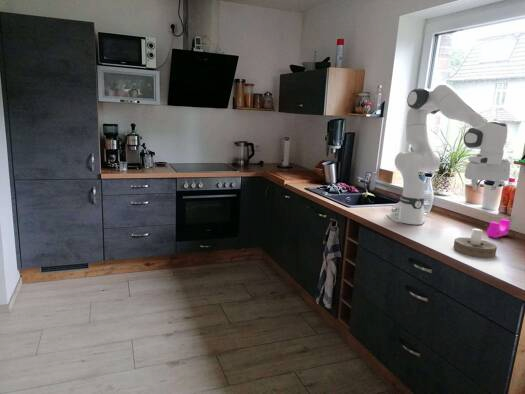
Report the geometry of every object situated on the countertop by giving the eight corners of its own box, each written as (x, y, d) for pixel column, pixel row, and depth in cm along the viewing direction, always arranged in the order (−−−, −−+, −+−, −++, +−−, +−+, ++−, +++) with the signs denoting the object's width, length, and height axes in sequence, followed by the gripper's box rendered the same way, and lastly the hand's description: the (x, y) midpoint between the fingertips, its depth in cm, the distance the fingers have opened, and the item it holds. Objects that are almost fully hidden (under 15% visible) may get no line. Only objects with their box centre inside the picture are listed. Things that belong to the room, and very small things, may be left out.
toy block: (495, 231, 214) (498, 217, 212) (508, 234, 209) (510, 220, 207) (482, 234, 205) (485, 220, 203) (495, 238, 200) (497, 223, 198)
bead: (446, 245, 180) (447, 237, 180) (476, 245, 184) (477, 237, 183) (470, 258, 165) (472, 249, 164) (503, 257, 168) (505, 248, 167)
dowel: (466, 250, 176) (470, 228, 174) (474, 250, 177) (478, 228, 175) (473, 253, 172) (476, 231, 170) (481, 253, 173) (484, 231, 171)
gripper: (505, 158, 176) (499, 189, 179) (465, 156, 172) (459, 187, 175) (516, 160, 170) (509, 192, 173) (475, 159, 166) (469, 190, 169)
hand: (484, 189), depth 174 cm, fingers open, 8 cm apart
